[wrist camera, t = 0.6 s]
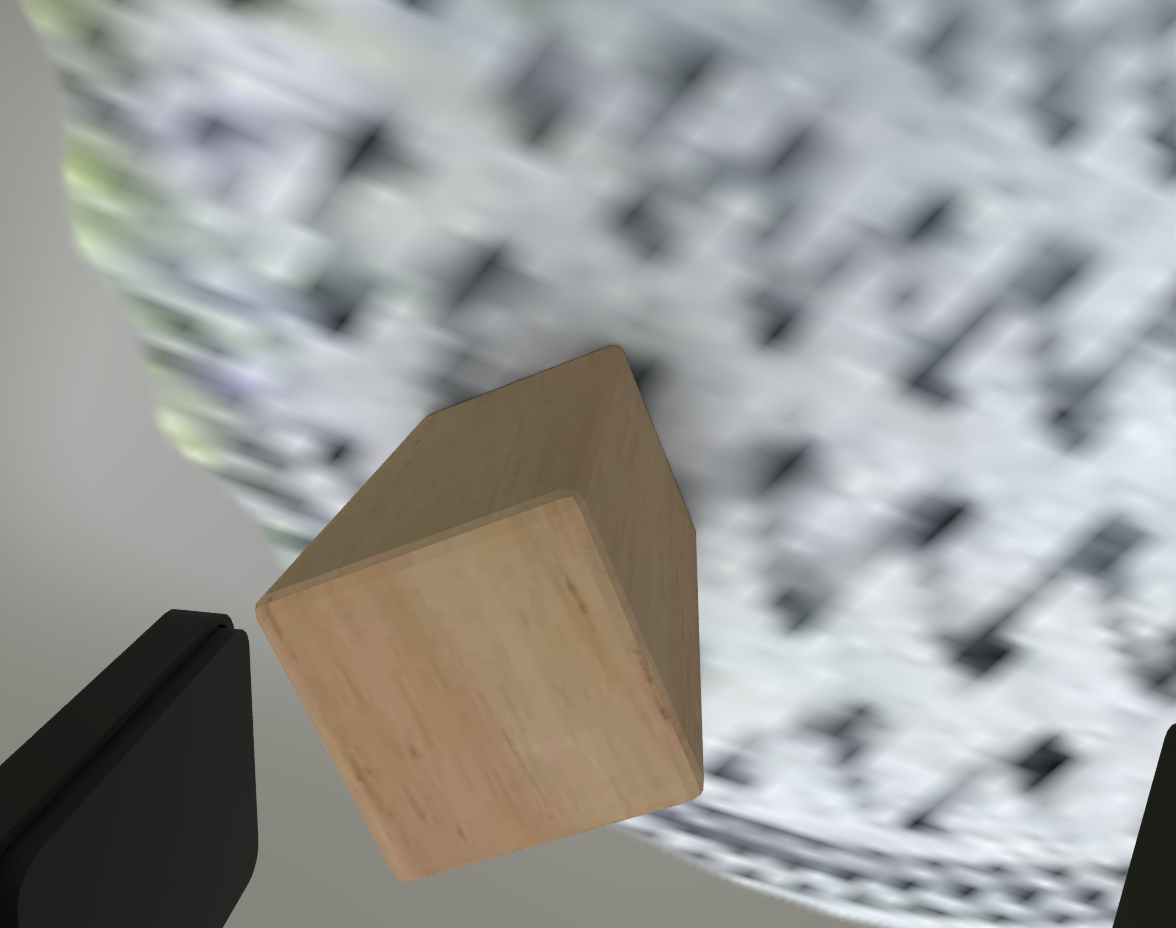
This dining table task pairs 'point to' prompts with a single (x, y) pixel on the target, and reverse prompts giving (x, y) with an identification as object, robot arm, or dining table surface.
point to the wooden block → (505, 624)
